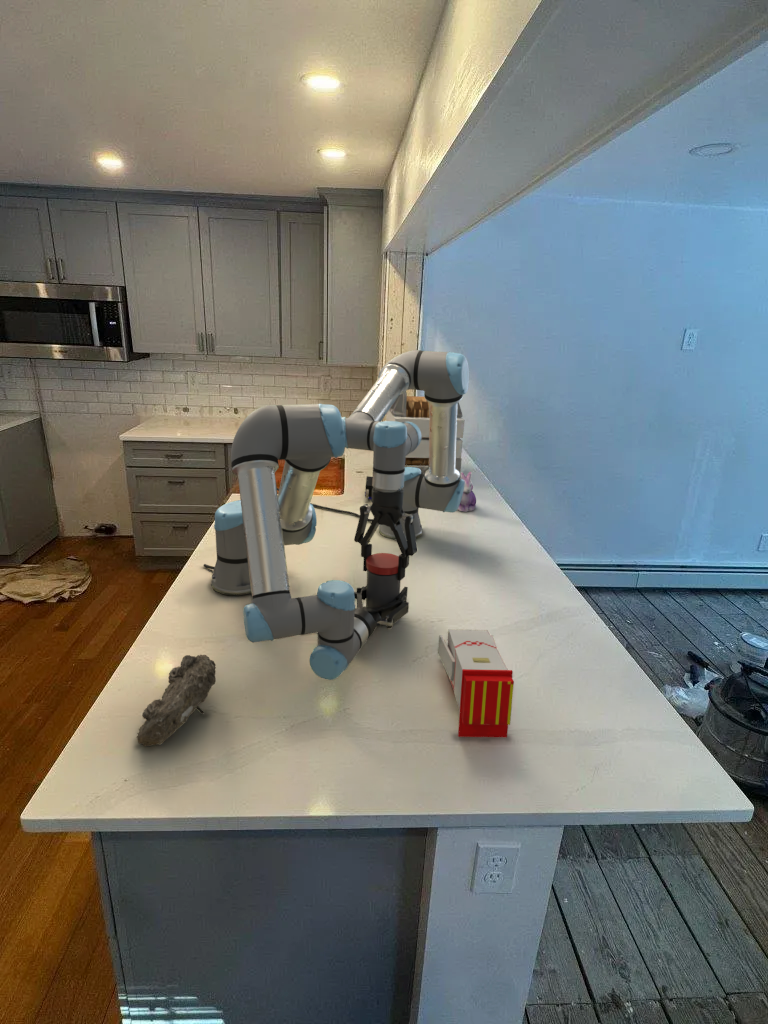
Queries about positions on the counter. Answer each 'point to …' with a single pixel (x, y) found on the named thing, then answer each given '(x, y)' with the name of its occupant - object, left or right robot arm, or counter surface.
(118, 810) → the counter surface
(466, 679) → the toy
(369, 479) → the figurine character
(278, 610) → the left robot arm
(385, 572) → the lid
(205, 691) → the fossil
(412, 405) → the white storage crate
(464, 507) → the figurine
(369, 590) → the jar
